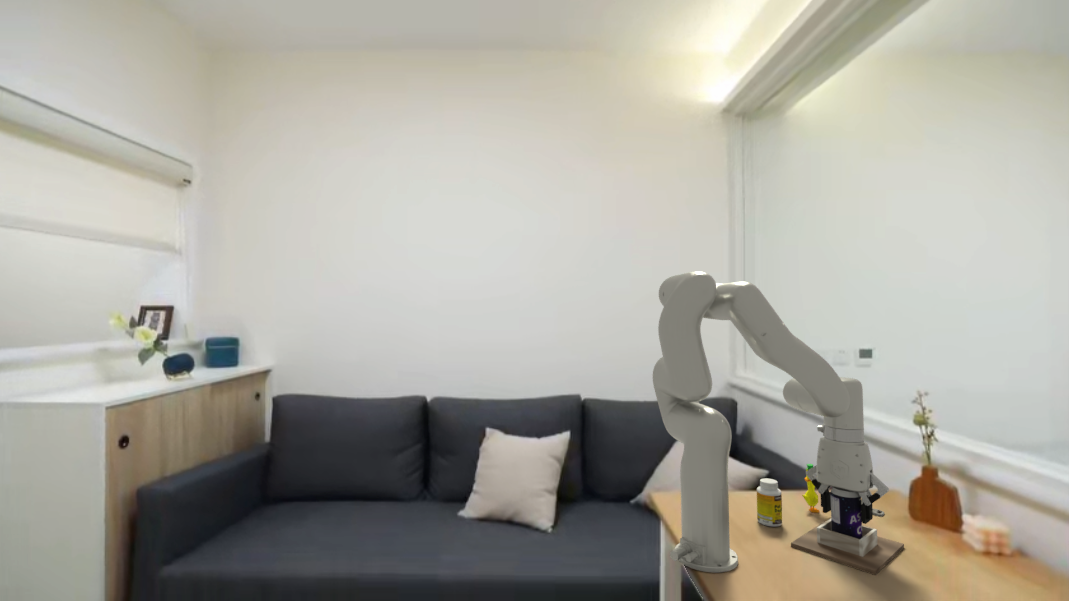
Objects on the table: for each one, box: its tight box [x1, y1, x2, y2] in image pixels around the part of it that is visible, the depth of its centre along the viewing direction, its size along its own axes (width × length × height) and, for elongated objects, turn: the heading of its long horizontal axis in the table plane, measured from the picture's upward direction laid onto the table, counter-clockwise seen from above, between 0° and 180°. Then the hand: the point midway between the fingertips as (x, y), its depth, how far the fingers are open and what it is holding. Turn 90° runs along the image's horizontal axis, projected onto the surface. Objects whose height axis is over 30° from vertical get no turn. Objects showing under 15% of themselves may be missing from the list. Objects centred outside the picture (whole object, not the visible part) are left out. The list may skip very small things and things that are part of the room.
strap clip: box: [861, 498, 885, 518], centre depth 130 cm, size 8×3×4 cm, turn 42°
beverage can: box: [829, 486, 863, 539], centre depth 109 cm, size 6×6×12 cm
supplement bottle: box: [756, 477, 783, 528], centre depth 123 cm, size 6×6×10 cm
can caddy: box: [790, 518, 905, 576], centre depth 109 cm, size 18×16×4 cm
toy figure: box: [801, 463, 820, 514], centre depth 130 cm, size 7×4×12 cm, turn 94°
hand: (846, 515), depth 110 cm, fingers open, 7 cm apart
